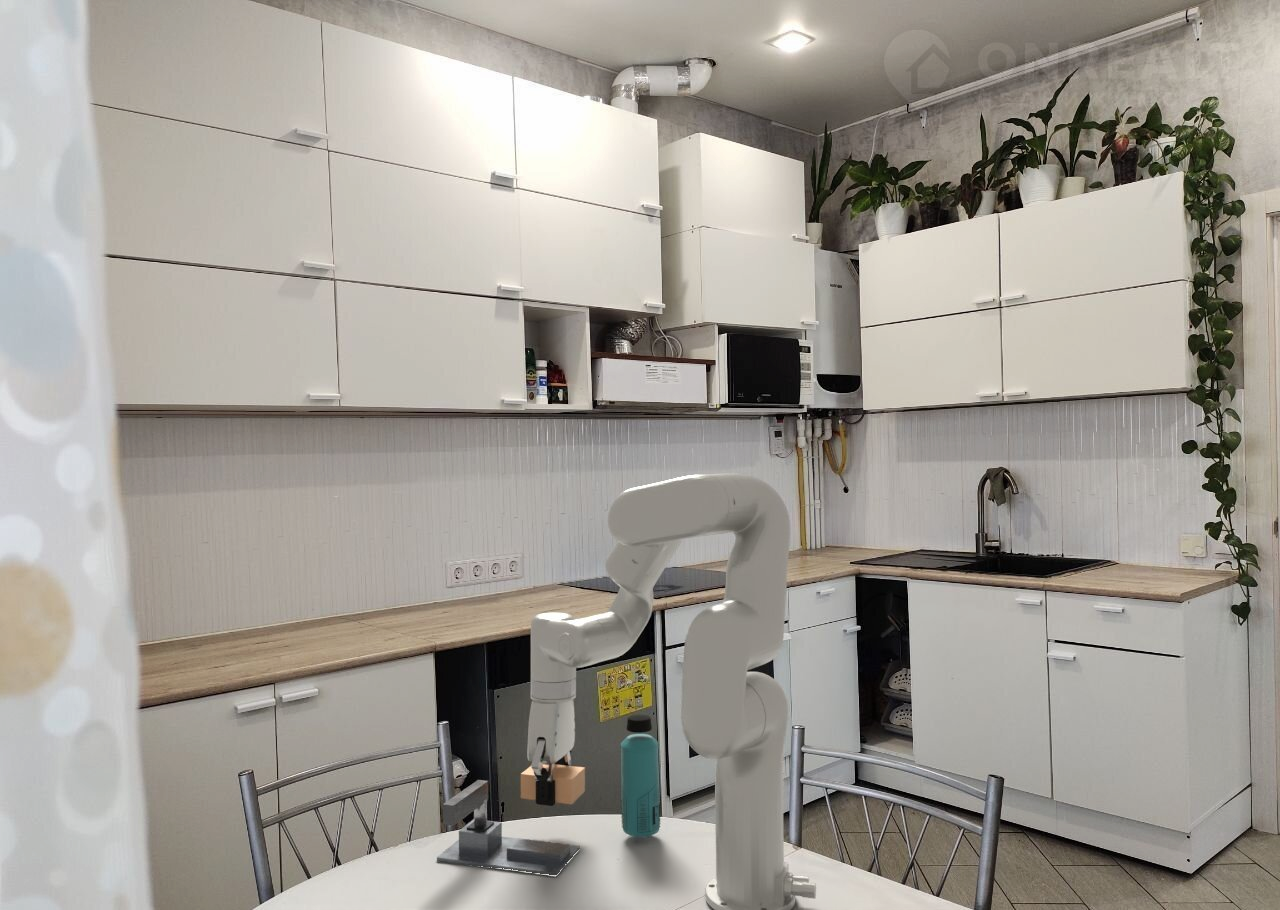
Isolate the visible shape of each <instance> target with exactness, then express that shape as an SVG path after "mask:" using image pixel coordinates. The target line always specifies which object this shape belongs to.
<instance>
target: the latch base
mask: <svg viewBox="0 0 1280 910" xmlns="http://www.w3.org/2000/svg"><path fill="white" fill-rule="evenodd" d="M502 824H503V823H502V822H501V821H495V820H494V821H493V820H487V824H486V825H483V826H476V825H474V818H473V819H472V820H471V821H469V822H468V823H467V824H466V825H465V826H463V827H462V828H461V829H459V830H458V839H457V840H456V841H455V842H454V843H453V844H451V845H450V846H449V847H448V848H447V849H445V850H444V851H443V852H442V853H441V854H440V855H438V856H436V862H439V863H440V862H441V863H448V864H453V865H454V864H455V865H461V864H463V866H468V865H472V866H471V867H476V866H480V867H479V868H483V867H490V868H489V869H491V867H492V868H502V869H503V868H504V869H511V870H512V869H513V870H518V871H526V872H532V873H540V874H549V875H557V874H558V873H559V872H560V870H561V869H562V868H563V867H564V866H565V864H567V862H568V861H569V860H570V859H571V858H572V857H573V855H574V854H575V853H576V852H577V851H578V850H579V849H580V850H581V845H575V844H574V845H573V844H572V845H571V844H568V843H563V842H562V843H561V842H554V841H553V842H552V841H544V840H537V839H527V838H521V837H520V838H519V837H517V838H516V837H508V836H502V835H503V834H502V833H503V830H502V829H503V827H502V826H503V825H502ZM573 858H574V857H573ZM567 865H568V864H567ZM481 866H483V867H481ZM560 873H561V872H560ZM560 873H559V874H560Z"/></svg>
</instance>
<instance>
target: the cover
mask: <svg viewBox="0 0 1280 910" xmlns="http://www.w3.org/2000/svg"><path fill="white" fill-rule="evenodd" d="M543 768H546V770H547V771H548V769H549V765H543ZM553 780H555V804H566V805H573V804H574V803H575V802H576V801H577V800H578V799H579V798H580V797H581V796H582V795H583V794H584V793H585V792H586V767H583V766H572V765H570V766H566V765H556V764H555V767H554V774H553ZM520 799H521V800H522V799H524V800H531V801H536V781H535V774H534V771H533V769H532V768H531V765H530V766H529V767H528V768H526V769H525V770H524V771H522V772H521V773H520Z"/></svg>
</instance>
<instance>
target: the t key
mask: <svg viewBox="0 0 1280 910" xmlns="http://www.w3.org/2000/svg"><path fill="white" fill-rule="evenodd" d="M488 800H489V780H482V779H477V780H476V781H474V782H473V783H472V784H470V785H469V786H467V787H466V788H464V789H463V790H462V791H460V792H459V793H457V794H456V795H454V796H453V797H450V799H448V800H446V801H445V802H444V803H443V804H442V825H444V826H452V827H454V826H455V825H457V824H458V823H459V822H461V821H462V820H463V819H465V818H466V817H467V816H469V815H470V814H472V813H473V819H474V825H476V826H483V825H486V824H487V821H488V810H487V807H488V806H487V805H488V804H487V803H488Z"/></svg>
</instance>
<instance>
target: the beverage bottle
mask: <svg viewBox="0 0 1280 910" xmlns="http://www.w3.org/2000/svg"><path fill="white" fill-rule="evenodd" d="M626 720H627V721H626V722H627V723H626V730H627V732H631V733H632V734H629V735H627V736H626V737H625V738H624V740H622V742H621V743H620V748H621V749H620V752H621V753H620V756H621V757H620V758H621V759H620V760H621V769H620V770H621V771H620V772H621V780H620V796H621V807H620V809H621V814H620V815H621V816H620V820H621V821H620V822H621V828H622V830H623V832H624V834H626V835H629V836H632V837H636V838H637V837H640V838H641V837H642V838H644V837H650V836H653V835H656V834H657V833H658V832H659V831H660V827H661V820H662V818H661V803H660V800H661V797H660V796H661V795H660V794H661V793H660V792H661V789H660V775H661V774H660V765H659V745H660V744H659V742H658V741H657V739H656V738H654V737H653V736H652V735H650V734H646V733H648V732H650V731H652V729H653V727H652V726H653V725H652V718H651V716H650V715H647V714H632V715H630V716H629V715H628V717H627V719H626ZM633 733H634V734H633Z"/></svg>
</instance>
